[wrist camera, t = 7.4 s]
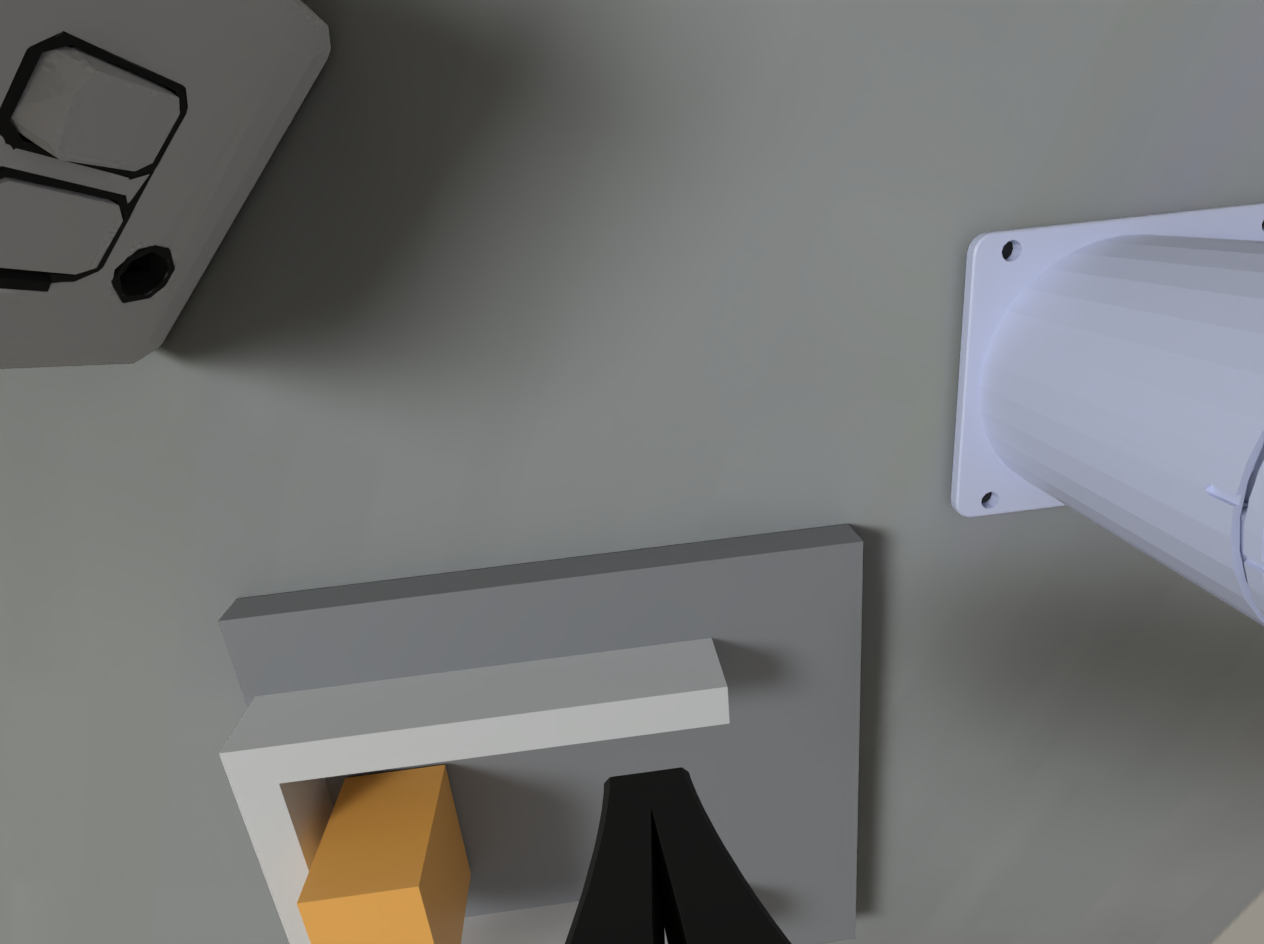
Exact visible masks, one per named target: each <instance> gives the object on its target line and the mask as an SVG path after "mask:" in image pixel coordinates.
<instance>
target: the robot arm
mask: <svg viewBox="0 0 1264 944" xmlns="http://www.w3.org/2000/svg"><path fill="white" fill-rule="evenodd" d="M1263 220H1264V203H1255V204H1246V205H1237V206H1227V207H1218V208H1208V209H1199V210H1189V211H1180V212H1171V213H1161V214H1152V215H1142V216H1133V217H1123V218H1114V219H1105V220H1095V221H1086V222H1076V223H1067V224H1057V225H1048V226H1039V227H1029V228H1020V229H1010V230H1001V231H991V232H985V233H982V234H980V235H978V236H977V237H976V238H974V239H973V241H972V242H971V244H970V245H969V248H968V252H967V263H966V278H965V293H964V308H963V323H962V339H961V354H960V369H959V384H958V399H957V414H956V430H955V445H954V460H953V475H952V490H951V504H952V507H953V508H954V510H955V511H957V512H958V513H959V514H961V515H962V516H964V517H978V516H986V515H994V514H1002V513H1010V512H1018V511H1027V510H1035V509H1043V508H1051V507H1059V506H1068V507H1070V508H1071V509H1073V510H1075V511H1076V512H1078V513H1079V514H1081V515H1083V516H1084V517H1086V518H1088V519H1089V520H1091V521H1093V522H1094V523H1096V524H1097V525H1099V526H1101V527H1102V528H1104V529H1106V530H1107V531H1109V532H1110V533H1112V534H1114V535H1115V536H1117V537H1119V538H1120V539H1122V540H1124V541H1125V542H1127V543H1128V544H1130V545H1132V546H1133V547H1135V548H1137V549H1138V550H1140V551H1142V552H1143V553H1145V554H1146V555H1148V556H1150V557H1151V558H1153V559H1155V560H1156V561H1158V562H1159V563H1161V564H1163V565H1164V566H1166V567H1168V568H1169V569H1171V570H1173V571H1174V572H1176V573H1177V574H1179V575H1181V576H1182V577H1184V578H1186V579H1187V580H1189V581H1191V582H1192V583H1194V584H1195V585H1197V586H1199V587H1200V588H1202V589H1204V590H1205V591H1207V592H1208V593H1210V594H1212V595H1213V596H1215V597H1217V598H1218V599H1220V600H1222V601H1223V602H1225V603H1226V604H1228V605H1230V606H1231V607H1233V608H1235V609H1236V610H1238V611H1240V612H1241V613H1243V614H1244V615H1246V616H1248V617H1249V618H1251V619H1253V620H1254V621H1256V622H1257V623H1259V624H1261V625H1262V626H1264V229H1263V230H1262V222H1263ZM1009 241H1010V242H1011V243H1012V245H1013V251H1012V254H1011V255H1010V256H1009V257H1008V258H1007V259H1004V258H1003V257H1002V249H1003V246H1004V245H1005V244H1006V243H1007V242H1009ZM989 492H991V493H992V495H991V498H990V499H989V500H988V501H987V502H985V503H981V501H982V498H983V496H984V495H985V494H986V493H989ZM664 929H665V930H664ZM665 933H666V938H667V943H668V944H792V943H791V942H790V941H789V940H788V938H787V937H786V936H785V934H784V933H783V932H782V930H781V929H780V928H779V926H778V925H777V924H776V922H775V921H774V920H773V918H772V917H771V915H770V914H769V913H768V911H767V910H766V908H765V907H764V906H763V904H762V903H761V901H760V900H759V898H758V897H757V896H756V894H755V893H754V891H753V890H752V888H751V887H750V885H749V884H748V882H747V881H746V879H745V878H744V876H743V875H742V873H741V871H740V870H739V868H738V867H737V865H736V863H735V862H734V860H733V858H732V857H731V855H730V854H729V852H728V850H727V849H726V847H725V846H724V844H723V842H722V840H721V839H720V837H719V835H718V833H717V832H716V830H715V828H714V826H713V824H712V822H711V821H710V819H709V817H708V815H707V813H706V811H705V809H704V807H703V805H702V803H701V801H700V799H699V797H698V794H697V792H696V790H695V787H694V785H693V783H692V780H691V777H690V774H689V772H688V771H687V770H685V769H684V768H682V767H680V768H672V769H665V770H658V771H650V772H643V773H636V774H628V775H621V776H614V777H609V779H608V780H607V781H606V782H605V783H604V794H603V803H602V811H601V817H600V822H599V828H598V832H597V837H596V841H595V846H594V850H593V854H592V858H591V861H590V865H589V869H588V872H587V876H586V880H585V883H584V887H583V891H582V894H581V897H580V900H579V903H578V906H577V909H576V912H575V915H574V918H573V921H572V924H571V927H570V930H569V933H568V936H567V939H566V942H565V944H665Z"/></svg>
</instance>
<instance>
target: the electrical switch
mask: <svg viewBox="0 0 1264 944" xmlns="http://www.w3.org/2000/svg"><path fill="white" fill-rule="evenodd" d="M330 51H331V45H330V36H329V27H328V25H327V24H326V23H325V22H324V21H323V20H322V19H321V18H320V17H318V16H317V15H316V14H315V13H314V12H313V11H312V10H311V9H310V8H309V7H308V6H307V5H306V4H305V3H303V2H302V1H301V0H0V369H10V368H34V367H58V366H82V365H106V364H130V363H135V362H137V361H138V360H140V359H141V358H143V357H145V356H146V355H148V354H149V353H151V352H153V351H154V350H156V349H157V348H159V347H160V346H161V344H162V343H163V342H164V340H165V338H166V337H167V335H168V333H169V332H170V330H171V328H172V326H173V325H174V323H175V321H176V319H177V318H178V316H179V314H180V313H181V311H182V309H183V307H184V306H185V304H186V302H187V301H188V299H189V297H190V295H191V294H192V292H193V290H194V288H195V287H196V285H197V283H198V282H199V280H200V278H201V276H202V275H203V273H204V271H205V269H206V268H207V266H208V264H209V263H210V261H211V259H212V257H213V256H214V254H215V252H216V250H217V249H218V247H219V245H220V244H221V242H222V240H223V238H224V237H225V235H226V233H227V232H228V230H229V228H230V226H231V225H232V223H233V221H234V219H235V218H236V216H237V214H238V213H239V211H240V209H241V207H242V206H243V204H244V202H245V200H246V199H247V197H248V195H249V194H250V192H251V190H252V188H253V187H254V185H255V183H256V182H257V180H258V178H259V176H260V175H261V173H262V171H263V169H264V168H265V166H266V164H267V163H268V161H269V159H270V157H271V156H272V154H273V152H274V150H275V149H276V147H277V145H278V144H279V142H280V140H281V138H282V137H283V135H284V133H285V132H286V130H287V128H288V126H289V125H290V123H291V121H292V119H293V118H294V116H295V114H296V113H297V111H298V109H299V107H300V106H301V104H302V102H303V100H304V99H305V97H306V95H307V94H308V92H309V90H310V88H311V87H312V85H313V83H314V82H315V80H316V78H317V76H318V75H319V73H320V71H321V69H322V68H323V66H324V64H325V63H326V61H327V59H328V56H329V53H330Z"/></svg>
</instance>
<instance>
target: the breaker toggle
mask: <svg viewBox="0 0 1264 944" xmlns="http://www.w3.org/2000/svg"><path fill="white" fill-rule="evenodd" d="M470 877H471V872H470V868H469V864H468V859H467V855H466V851H465V847H464V842H463V838H462V834H461V830H460V825H459V821H458V817H457V813H456V808H455V804H454V800H453V796H452V791H451V787H450V783H449V779H448V774H447V770H446V766H445V765H439V766H431V767H424V768H416V769H409V770H401V771H394V772H386V773H379V774H371V775H364V776H356V777H349V778H345V780H344V782H343V785H342V788H341V790H340V793H339V795H338V798H337V801H336V803H335V806H334V808H333V811H332V813H331V816H330V819H329V821H328V824H327V826H326V829H325V832H324V834H323V837H322V839H321V842H320V844H319V847H318V850H317V852H316V855H315V857H314V860H313V863H312V865H311V868H310V870H309V873H308V876H307V878H306V881H305V883H304V886H303V888H302V891H301V894H300V896H299V899H298V901H297V906H298V909H299V912H300V915H301V917H302V920H303V923H304V926H305V929H306V931H307V934H308V937H309V940H310V943H311V944H461V939H462V932H463V925H464V918H465V911H466V904H467V897H468V891H469V884H470Z"/></svg>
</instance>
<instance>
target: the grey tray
mask: <svg viewBox="0 0 1264 944" xmlns="http://www.w3.org/2000/svg"><path fill="white" fill-rule="evenodd" d="M862 577H863V541H862V539H861V538H860V537H859V536H858V535H857V534H856V532H855V531H854V530H853V529H852V528H851V527H850V526H849V524H843V525H835V526H826V527H818V528H810V529H802V530H794V531H786V532H778V533H769V534H761V535H753V536H745V537H737V538H729V539H720V540H712V541H704V542H696V543H688V544H680V545H672V546H663V547H655V548H647V549H639V550H631V551H623V552H614V553H606V554H598V555H590V556H582V557H574V558H566V559H557V560H549V561H541V562H533V563H525V564H517V565H508V566H500V567H492V568H484V569H476V570H468V571H459V572H451V573H443V574H435V575H427V576H419V577H411V578H402V579H394V580H386V581H378V582H370V583H362V584H353V585H345V586H337V587H329V588H321V589H313V590H305V591H296V592H288V593H280V594H272V595H264V596H256V597H247V598H239V599H236V600H235V601H234V603H233V604H232V605H231V606H230V607H229V609H228V610H227V611H226V612H225V613H224V615H223V616H222V617H221V618H220V619H219V621H218V623H219V626H220V628H221V631H222V634H223V637H224V640H225V643H226V646H227V649H228V652H229V655H230V657H231V660H232V663H233V666H234V669H235V672H236V675H237V678H238V681H239V684H240V686H241V689H242V692H243V695H244V698H245V701H246V704H247V707H248V709H247V710H246V712H245V713H244V715H243V716H242V718H241V720H240V721H239V723H238V724H237V726H236V727H235V729H234V731H233V732H232V734H231V735H230V737H229V739H228V740H227V742H226V743H225V745H224V746H223V748H222V750H221V751H220V753H219V755H220V758H221V760H222V763H223V766H224V768H225V771H226V774H227V776H228V779H229V782H230V784H231V787H232V790H233V792H234V795H235V798H236V801H237V803H238V806H239V809H240V811H241V814H242V817H243V819H244V822H245V825H246V827H247V830H248V833H249V835H250V838H251V841H252V844H253V846H254V849H255V852H256V854H257V857H258V860H259V862H260V865H261V868H262V870H263V873H264V876H265V878H266V881H267V884H268V887H269V889H270V892H271V895H272V897H273V900H274V903H275V905H276V908H277V911H278V913H279V916H280V919H281V921H282V924H283V927H284V930H285V932H286V935H287V938H288V940H289V943H290V944H311V943H310V940H309V937H308V934H307V931H306V929H305V926H304V923H303V920H302V917H301V915H300V912H299V909H298V906H297V901H298V899H299V896H300V894H301V891H302V888H303V886H304V883H305V881H306V878H307V876H308V873H309V870H310V868H311V865H312V863H313V860H314V857H315V855H316V852H317V850H318V847H319V844H320V842H321V839H322V837H323V834H324V832H325V829H326V826H327V824H328V821H329V819H330V816H331V813H332V811H333V808H334V806H335V803H336V801H337V798H338V795H339V793H340V790H341V788H342V785H343V782H344V780H345V778H349V777H356V776H364V775H371V774H379V773H386V772H394V771H401V770H409V769H416V768H424V767H431V766H439V765H445V766H446V770H447V774H448V779H449V783H450V787H451V791H452V796H453V800H454V804H455V808H456V813H457V817H458V821H459V825H460V830H461V834H462V838H463V842H464V847H465V851H466V855H467V859H468V864H469V868H470V872H471V877H470V884H469V891H468V897H467V904H466V911H465V918H464V925H463V932H462V939H461V944H565V942H566V939H567V936H568V933H569V930H570V927H571V924H572V921H573V918H574V915H575V912H576V909H577V906H578V903H579V900H580V897H581V894H582V891H583V887H584V883H585V880H586V876H587V872H588V869H589V865H590V861H591V858H592V854H593V850H594V846H595V841H596V837H597V832H598V828H599V822H600V817H601V811H602V803H603V794H604V783H605V782H606V781H607V780H608V779H609V777H614V776H621V775H628V774H636V773H643V772H650V771H658V770H665V769H672V768H680V767H682V768H684V769H685V770H687V771H688V772H689V774H690V777H691V780H692V783H693V785H694V787H695V790H696V792H697V794H698V797H699V799H700V801H701V803H702V805H703V807H704V809H705V811H706V813H707V815H708V817H709V819H710V821H711V822H712V824H713V826H714V828H715V830H716V832H717V833H718V835H719V837H720V839H721V840H722V842H723V844H724V846H725V847H726V849H727V850H728V852H729V854H730V855H731V857H732V858H733V860H734V862H735V863H736V865H737V867H738V868H739V870H740V871H741V873H742V875H743V876H744V878H745V879H746V881H747V882H748V884H749V885H750V887H751V888H752V890H753V891H754V893H755V894H756V896H757V897H758V898H759V900H760V901H761V903H762V904H763V906H764V907H765V908H766V910H767V911H768V913H769V914H770V915H771V917H772V918H773V920H774V921H775V922H776V924H777V925H778V926H779V928H780V929H781V930H782V932H783V933H784V934H785V936H786V937H787V938H788V940H789V941H790V942H791V943H792V944H821V943H828V942H834V941H841V940H848V939H855V929H856V879H857V828H858V778H859V728H860V678H861V628H862ZM664 930H665V929H664ZM665 944H668V943H667V938H666V933H665Z"/></svg>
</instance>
